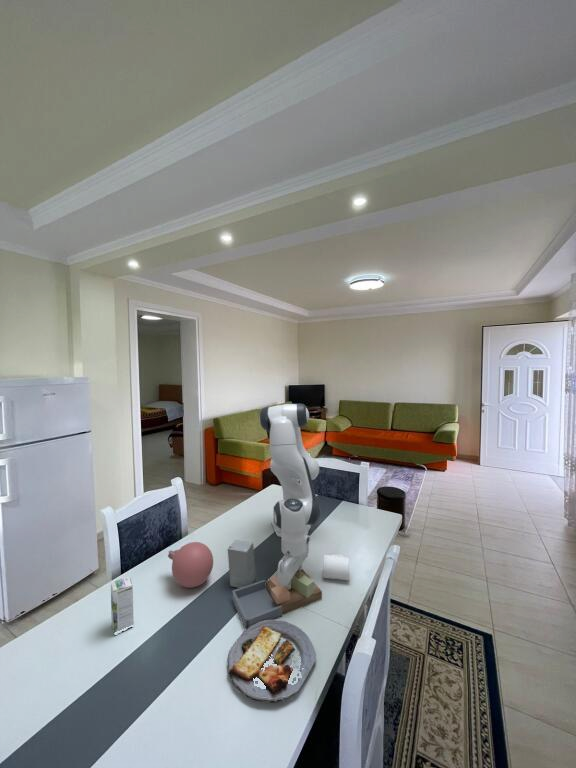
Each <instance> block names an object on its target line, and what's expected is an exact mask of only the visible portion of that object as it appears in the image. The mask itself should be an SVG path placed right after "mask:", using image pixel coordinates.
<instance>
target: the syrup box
mask: <svg viewBox="0 0 576 768" xmlns="http://www.w3.org/2000/svg"><path fill="white" fill-rule="evenodd" d="M132 582H133V581H132V579H131V577H130V576H124V577H122V578H118V579H116V580H114V581H112V582H110V605H111V606H110V609H111V612H110V613H111V627H112V626H113V629H112V631H113V630H114V633H115V632H117V631H120V630H122V629H124V628H126V627H129V626H131V625H133V624H134V623H135V622H134V588H133V586H134V585H133V583H132ZM114 633H113V634H114Z"/></svg>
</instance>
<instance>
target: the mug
mask: <svg viewBox="0 0 576 768" xmlns="http://www.w3.org/2000/svg"><path fill="white" fill-rule="evenodd" d="M322 576H323V578H326V579H332V580H339V581H340V580H341V581H346V582H347V581H350V557H349V556H348V557H346V556H344V555H342V554H338V553H337V554H332V555H330V554H324V556H323V562H322Z"/></svg>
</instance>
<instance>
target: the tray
mask: <svg viewBox="0 0 576 768" xmlns="http://www.w3.org/2000/svg"><path fill="white" fill-rule="evenodd" d="M231 601H232V603H233V606H234V608H235V607H236V608H235V610H236V612H237V614H238V616H239V618H241V619H240V620H242V621H241V623H242V622H243V623H242V625H243V627H244V629H247V628H248V627H250V626H252V625H254V624H256V623H258V622H261V621H264V620H278V619H280V618H283V615H282V605H280V606H278V607H277V606H276V604H275V602H274V601H273V599H272V598H271V596H270V594H269V593H268V591H267V590H266V579H263V580H260V581H257V582H253V584H251V585H248V586H245V587H242V588H236V589H233V590H231Z"/></svg>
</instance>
